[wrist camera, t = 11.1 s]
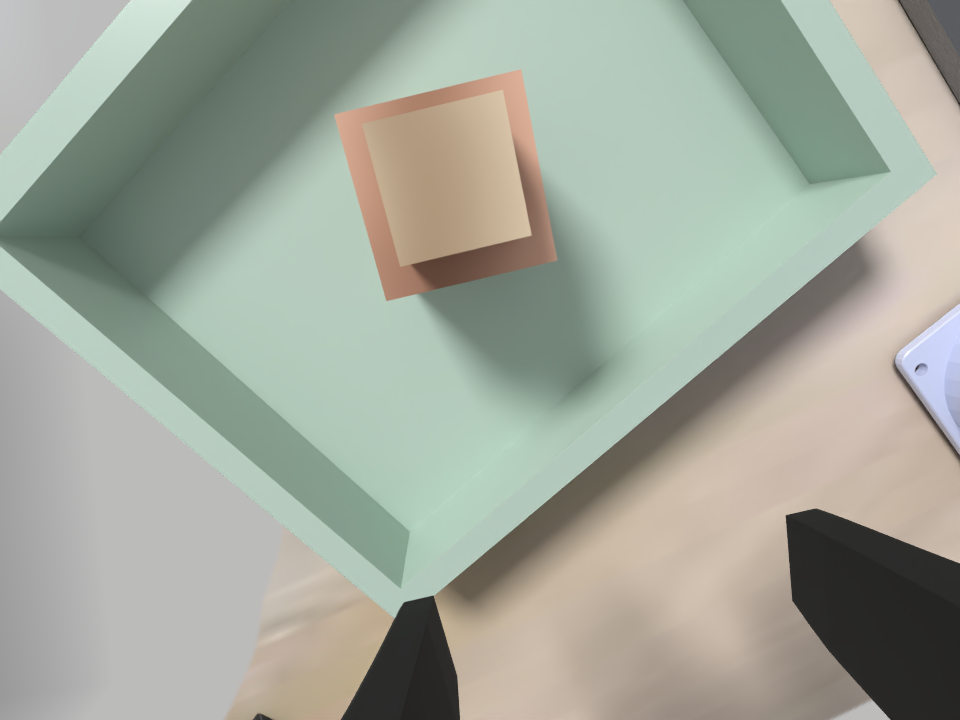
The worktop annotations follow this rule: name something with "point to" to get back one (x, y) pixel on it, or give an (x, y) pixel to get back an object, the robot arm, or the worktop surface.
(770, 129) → the bin
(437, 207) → the square capped bottle
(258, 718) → the ammunition clip
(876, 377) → the worktop surface
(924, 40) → the base
